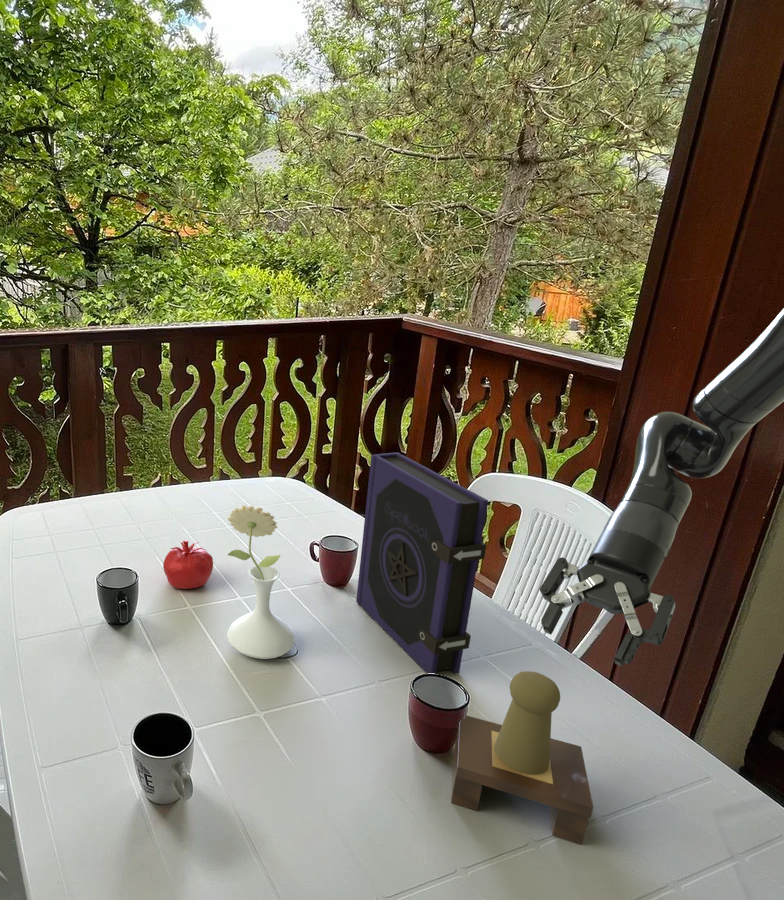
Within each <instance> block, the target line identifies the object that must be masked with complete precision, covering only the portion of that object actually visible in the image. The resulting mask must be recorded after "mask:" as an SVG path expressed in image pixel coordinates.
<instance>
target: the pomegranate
mask: <svg viewBox="0 0 784 900" xmlns="http://www.w3.org/2000/svg"><path fill="white" fill-rule="evenodd" d="M189 543H190V541H189V540H187V539H183V540H182V541H180V545H181V547H179V546H175V547H170V549H171V550H170V551H169V552H168V553H167V554H166V556H165V558H164V560H163V565H162V567H163V572H164V574H165V576H166V579H167V583H169V585H170V586H171V587H173V588H175V589H179V590H181V589H182V590H189V589H190V590H191V589H197V588H200V587H203V586H205V585H206V583H208V581H209V579H210V578H211V576H212V573H213V570H214V569H213V568H214V559H213V556H212V555H211V554H210V553H209V552H208V551H207V549H205V548H203V547H195V546H196V545H197V544H200V542H199V541H198V542H194V543H192V544H191V545H190V546H189Z"/></svg>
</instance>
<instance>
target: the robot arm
mask: <svg viewBox="0 0 784 900" xmlns="http://www.w3.org/2000/svg"><path fill="white" fill-rule="evenodd" d="M783 403H784V307H783V308H782V309H781V311H779V313H778V314H777V315H776V316H775V317H774V319H773V320H772V321H771V322H770V323H769V325H768V326H767V327H766V328H765V329H764V330H763V331H762V332H761V333H760V334H759V335H758V336H757V337H756V338H755V339H754V340H753V341H752V343H751V344H749V346H747V347H746V348H745V349H744V350H743V351H742V353H740V354H739V355H738V356H737V357H736V358H735V359H734V360H732V362H730V364H728V365H727V366H726V367H725V368H724V369H723V370H721V371H720V372H719V373H718V374H717V375H716V376H715V377H714V378H712V380H711V381H710V382H709V383H708V384H707V385H705V386H704V387H703V388H702V389H701V390H700V391H699V392H698V393H697V394H696V396H695V397H694V398H693V401H692V410H693V412H694V414H695V416H696V417H697V418H698V419H699V420H700V421H701V422H702V423H703V424H702V423H700V422H698V421H696V420H694V419H691V418H689V417H687V416H686V415H682V414H681V413H678V412H674V411H669V410H667V411H660V412H657V413H656V414H654V415H652V416H650V417H649V418H648V419H647V420H646V421H645V422H644V423H643V425H642V426H641V427H640V429H639V432H638V434H637V439H636V443H635V451H634V452H635V454H634V462H633V469H632V474H631V478H630V481H629V484H628V485H627V488H626V490H625V491H624V493H623V496H622V497H621V499H620V501H619V503H618V504H617V507H616V508H615V509H614V510H613V511H612V513H611V514H610V515H609V517H608V519H607V522H606V523H605V525H604V527H603V530H602V531H601V533H600V535H599V537H598V539H597V541H596V543H595V545H594V547H593V549H592V550H591V552H590V555H589V556H588V558H587V560H586V562H585V563H584V564H583V565H581V566H578V565H576V564H573V563H570V562H568V560H567V558H565V557H558V558H557V559H556V561H555V563H554V564H553V566H552V568H551V569H550V571H549V573H548V574H547V575H546V577H545V579H544V581H543V582H542V584H541V585H540V587H539V593H540V594H541V596H542V598H543V599H544V600H545V601H547V602H548V603H549V604H548V605H547V607H546V609H545V611H544V614H543V616H542V617H541V620H540V623H541V625H542V629H543V631H544V633H546V634H548V635H550V636H551V635H553V633H554V631H555V629H556V627H557V625H558V623H559V621H560V619H561V617H562V615H563V614H564V612H563V610H564V609H567V608H569V607H572V606H578V605H580V604H582V603H585V602H587V603H588V604H589V605H590V606H592V607H594V608H598V609H603V610H605V611H607V612H608V613H609V614H612V615H615V616H616V615H617V614H618V615H621V614H623V617H624V619H625V622H626V624H627V627H628V630H629V633H626V634H625V635H624V637H623V640H622V641H621V644H620V646H619V648H618V650H617V652H616V654H615V656H614V659H613V661H614V664H615V665H618V666H620V667H623V666H625V665H624V664H627V665H629V664H631V663H633V660H634V659H635V656H636V654H637V652H638V651H639V648H640V646H641V644H643V643H650V644H653V645H656V646H660V645H662V644H663V643H664V640H665V637H666V635H667V632H668V630H669V627H670V625H671V622H672V619H673V618H674V614H675V611H676V609H677V607H676V600H675V597H674V596H673V595H670V594H665V595H660V594H657V593H653V592H651V588H652V585H653V584H654V581H655V580H656V577H657V575H658V573H659V571H660V570H661V568H662V565H663V563H664V561H665V559H666V557H667V556H668V555H669V553H670V551H671V547H672V544H673V542H674V540H675V537H676V533H677V530H678V527H679V525H680V523H681V520H682V518H683V516H684V514H685V512H686V511H687V509H688V507H689V506H690V505H689V504H690V502H691V500H692V496H693V492H692V488H691V487H690V486H689V484H688V482H687V483H686V481H684V480H683V479H682V478H681V477H680V476H678V475H677V474H676V473H675V472H674V471H676V472H678V473H680V474H682V475H684V476H686V477H689V478H692V479H696V480H697V479H698V480H699V479H707V478H710V477H714V476H715V475H717V474H719V473H720V472H721V471H722V470H723V469H724V468H725V466H726V465H727V464H728V462H729V460H730V459H731V457H732V455H733V453H734V451H735V450H736V448H737V447H738V446H739V444H740V443H741V441H742V440H743V439H744V437H745V436H746V435H747V434H748V432H749V431H750V430H751V429H752V428H753V427H754V426H755V425H756V424H757V423H759V422H760V421H761V420H763V418H765V417H766V416H768V414H770V413H772V412H773V410H775V409H776V408H777V407H779V406H780V405H781V404H783ZM673 470H674V471H673ZM573 576H577V580H578V582H577V583H574V584H572V585H570V586H568V587H567V588H566V589H565V590H562V591H560V592H558V593H557V591H559V589H560V587H561V585H562V584H563V582H564V580H568V579H570V578H572V577H573ZM648 603H651V604H652V610H653V611H654V612H655V613H656V614H655V616H654V618H653V621H652V624H651V627H650V628H649V629H648V628H642V626H641V623H640V621H639V618H638V616H637V612H636V609H637V608H639V607H641V606H644V605H646V604H648Z"/></svg>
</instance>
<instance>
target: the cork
mask: <svg viewBox="0 0 784 900" xmlns="http://www.w3.org/2000/svg"><path fill="white" fill-rule="evenodd" d="M509 692H510V697H511V698H512V699H511V701H510V704H509V707H508V709H507V712H506V714H505V717H504V720H503V722H502V724H501V725H502V727H501V729H500V732H499V734H498V737H497V739H496V742H495V745H494V750H495V753H496V755H497V756H498V758H499V759H500V760H501V761H502V762H503V763H504V764H506V765H507V766H509V767H510V768H512V769H514V770H516V771H518V772H521V773H525V774H531V775H538V774H542V773H544V772H545V771H547V770H548V767H549V760H550V738H552V736H551V735H552V717H553V716H552V713H553V712H554V711H556V710H557V708H558V707H559V704H560V701H561V692H560V689H559V687H558V685H557V683H556V681H554V680H552V679H551V678H550V677H548V676H546V675H544V674H543V673H539V672H536V671H531V670H524V671H523V670H522V671H519V672H518V673H516V674H515V675H514V676H513V677H512V679H511V681H510V684H509Z"/></svg>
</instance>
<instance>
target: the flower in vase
mask: <svg viewBox="0 0 784 900" xmlns="http://www.w3.org/2000/svg"><path fill="white" fill-rule="evenodd" d="M274 519H275V516H274V515H271V513H270V512H269V511H268V512H267V511H266V512H264V511H263V508H262V507H260V506H259V507H257V508H255V507H254V506H251V505H250V506H248V507H247V505H242V506H241V507H240V508H238V507H235V508H234V510H231V513H230V514H229V516H228V517H227V521H229V522H230V523H229V524H230V526H232V528H233V530H235V531H238V532H239V533H240V534H245V535H246V536H248V537H249V540H248V552H245V551H244V550H242V549H233V550H231V551H230V552H228V553H227V556H230V557H234V558H237V559H238V560H241V561H247V560H249V559H250V558H251V560H252V562H253V564H254V565H255V566H254V567H252V568H250V569H249V570H248V575H249V577H250V578H251V580H252V581H253V584H254V589H255V606H254V609H253V610H252V611H251V612H248V613H246V614H243V615H242V616H240V617H238V618H237V619H236V620H234V621H233V622H232V623H231V625H230V626H229V628H228V630H227V633H226V634H227V636H226V637H227V640H228V642H229V643H230V645H231V647H233V649H234V650H236V651H237V652H238V653H240V654H242V655H244V656H247V657H250V658H254V659H261V660H269V659H275V658H279V657H282V656H284V655H286V654H288V652H289V651H290V650H291V649H292V648H293V647H294V644H295V641H296V639H295V634H294V632H293V629H292V628H291V627H290V625H289V624H288V623H287V622H285V621H284V620H283V619H281V618H280V617H278V616H277V615H275V614H274V613H273V612H272V611H271V609H270V598H271V592H272V588H273V585H274V583H275V582H276V580H277V579H279V577H280V572H279V571H278V569H276V568H274V567H272V565H275V564H276V562H278V561H279V559H280V558H281V556H282V554H276V555H267V556H265V557H264V558H263V559H261V561H259V563H258V562H257V561H256V560H255V558H254V556H253V554H252V550H251V549H252V537H255V538H259V537H263V538H264V537H265V536H271V535H273V532H275V529H277V528H278V526H277V524H278V523H277V522H276V521H275V520H274Z"/></svg>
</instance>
